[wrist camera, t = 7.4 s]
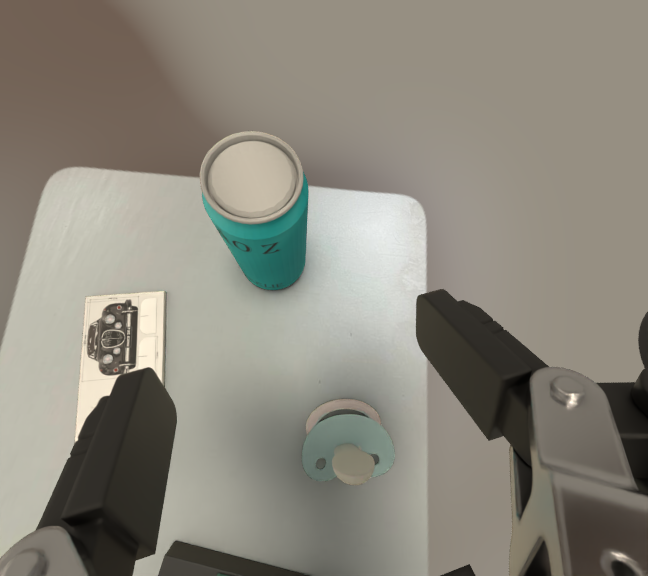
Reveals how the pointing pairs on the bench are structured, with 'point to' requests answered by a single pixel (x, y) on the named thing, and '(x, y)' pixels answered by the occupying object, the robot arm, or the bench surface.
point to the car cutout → (119, 344)
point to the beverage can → (258, 205)
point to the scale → (213, 564)
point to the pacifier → (346, 443)
